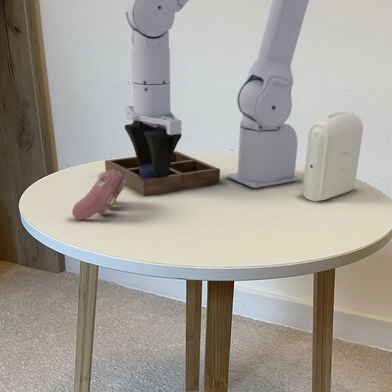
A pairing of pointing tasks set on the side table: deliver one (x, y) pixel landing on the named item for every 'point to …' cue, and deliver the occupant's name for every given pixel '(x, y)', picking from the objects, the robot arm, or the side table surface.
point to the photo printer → (332, 156)
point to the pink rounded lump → (100, 195)
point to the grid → (177, 177)
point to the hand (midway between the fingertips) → (153, 172)
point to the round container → (146, 171)
